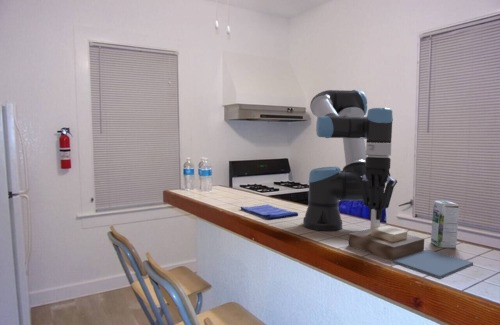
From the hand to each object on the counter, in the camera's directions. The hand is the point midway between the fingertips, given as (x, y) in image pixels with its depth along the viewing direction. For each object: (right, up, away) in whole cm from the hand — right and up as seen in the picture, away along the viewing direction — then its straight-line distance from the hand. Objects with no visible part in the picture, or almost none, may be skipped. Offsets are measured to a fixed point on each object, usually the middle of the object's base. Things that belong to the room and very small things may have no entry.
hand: (375, 228), depth 111 cm
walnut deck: (+2, -6, -3) cm, 7 cm away
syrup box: (+23, -6, +2) cm, 24 cm away
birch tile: (+3, -2, -4) cm, 5 cm away
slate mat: (+11, -7, -15) cm, 20 cm away
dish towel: (-32, -2, +46) cm, 57 cm away
